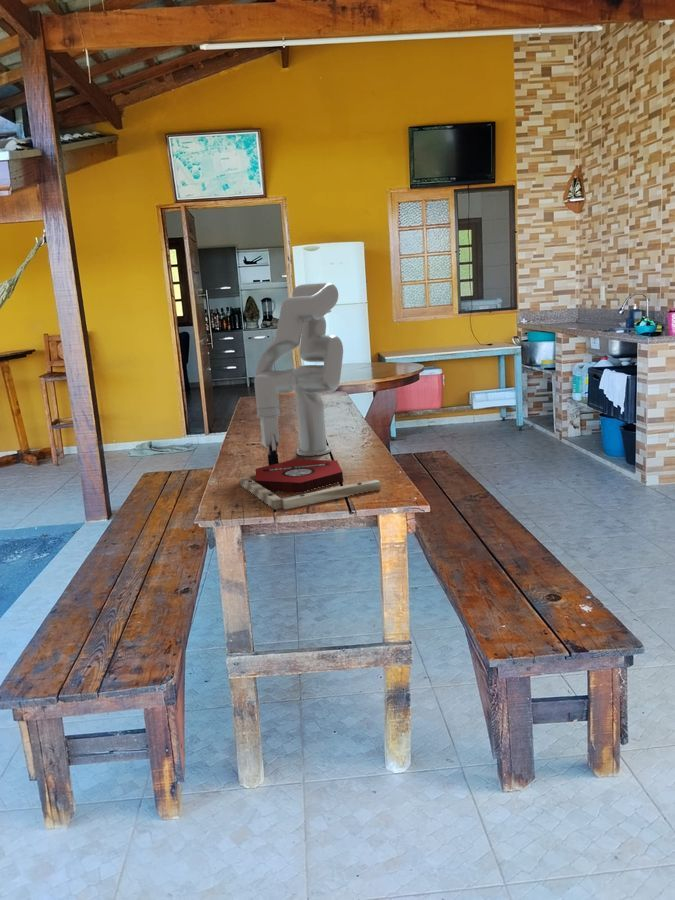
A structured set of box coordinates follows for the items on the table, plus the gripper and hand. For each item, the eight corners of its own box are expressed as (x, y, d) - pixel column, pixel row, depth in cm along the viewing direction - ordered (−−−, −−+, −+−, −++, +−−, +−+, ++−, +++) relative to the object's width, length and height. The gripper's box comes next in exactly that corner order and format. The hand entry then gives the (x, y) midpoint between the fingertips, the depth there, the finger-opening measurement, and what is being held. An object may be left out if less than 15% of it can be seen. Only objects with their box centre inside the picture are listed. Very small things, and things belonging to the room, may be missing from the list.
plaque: (255, 473, 244) (257, 498, 215) (254, 463, 244) (256, 487, 215) (335, 465, 247) (346, 489, 218) (334, 455, 246) (346, 477, 217)
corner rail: (240, 486, 229) (239, 477, 228) (333, 468, 242) (333, 460, 241) (277, 511, 201) (276, 501, 200) (380, 489, 214) (379, 480, 213)
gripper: (254, 409, 248) (259, 462, 252) (260, 416, 234) (265, 472, 238) (276, 407, 250) (281, 459, 254) (283, 414, 235) (288, 469, 239)
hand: (273, 465), depth 246 cm, fingers closed
